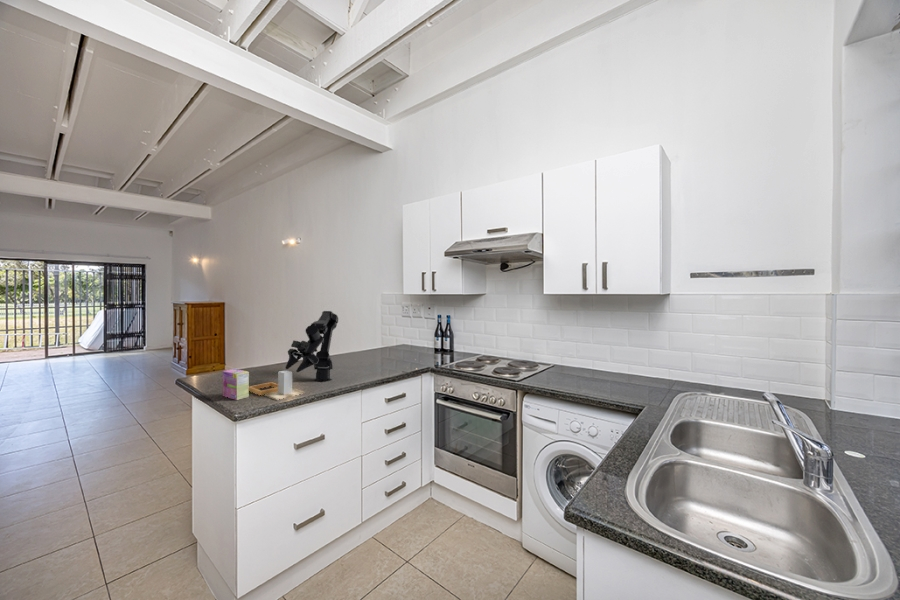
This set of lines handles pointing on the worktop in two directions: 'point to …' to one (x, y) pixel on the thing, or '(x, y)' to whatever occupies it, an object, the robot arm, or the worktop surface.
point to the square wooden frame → (261, 392)
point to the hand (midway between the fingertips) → (291, 370)
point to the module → (285, 382)
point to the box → (236, 384)
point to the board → (279, 396)
